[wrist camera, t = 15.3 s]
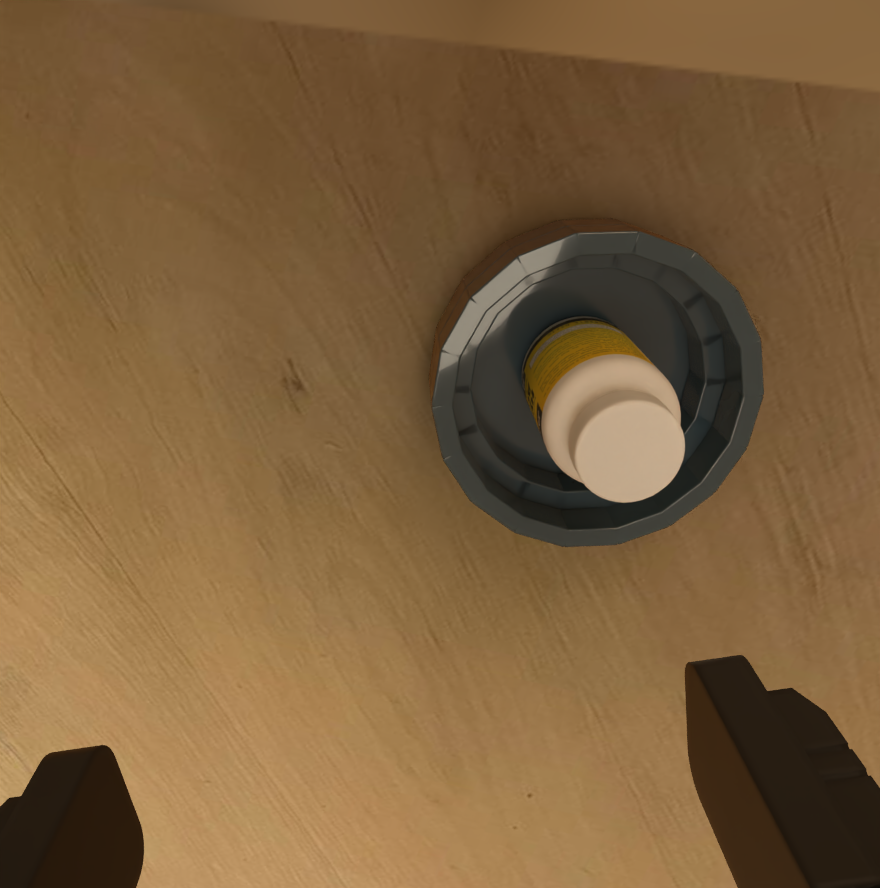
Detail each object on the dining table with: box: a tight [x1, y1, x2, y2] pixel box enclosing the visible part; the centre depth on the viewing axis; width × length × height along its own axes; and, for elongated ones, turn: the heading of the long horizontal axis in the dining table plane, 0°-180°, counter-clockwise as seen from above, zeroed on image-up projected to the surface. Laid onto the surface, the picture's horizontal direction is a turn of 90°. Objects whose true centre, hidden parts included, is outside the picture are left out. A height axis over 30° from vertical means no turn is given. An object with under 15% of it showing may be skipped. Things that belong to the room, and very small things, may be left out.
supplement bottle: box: [522, 316, 685, 503], centre depth 33 cm, size 5×5×10 cm
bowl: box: [429, 219, 764, 547], centre depth 36 cm, size 14×14×5 cm
